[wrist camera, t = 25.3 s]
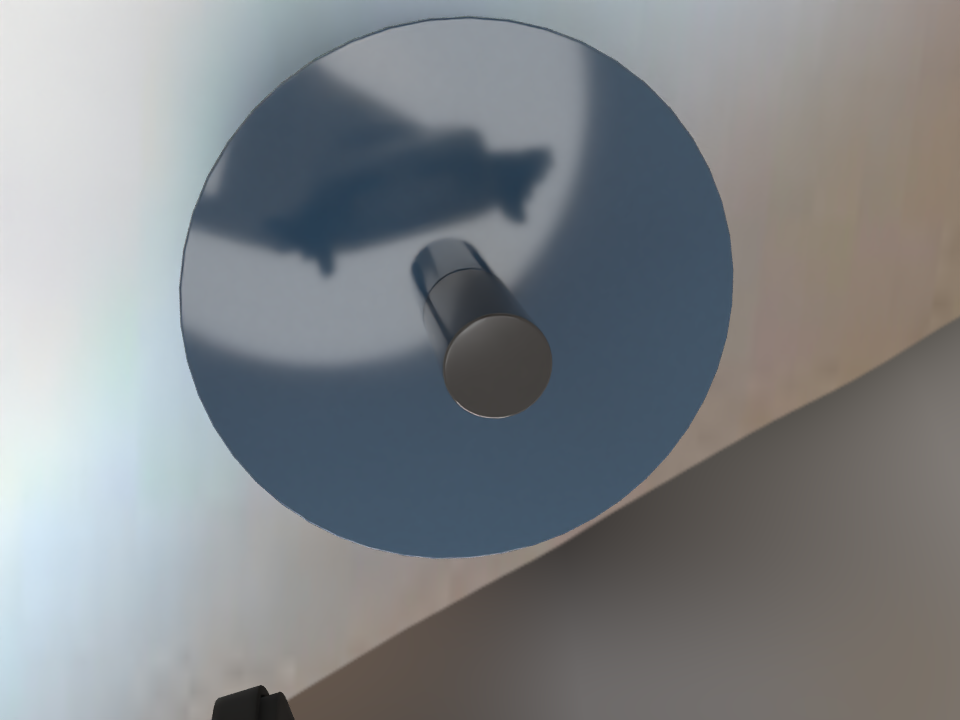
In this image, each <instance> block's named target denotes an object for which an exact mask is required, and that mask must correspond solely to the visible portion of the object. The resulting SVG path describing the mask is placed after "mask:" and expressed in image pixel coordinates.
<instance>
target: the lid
mask: <svg viewBox="0 0 960 720" xmlns="http://www.w3.org/2000/svg"><path fill="white" fill-rule="evenodd" d="M732 293H733V262H732V252H731V242H730V234H729V229H728V225H727V221H726V217H725V212H724V208H723V204H722V200H721V198H720V195H719V192H718V190H717V187H716V184H715V182H714V179H713V177H712V174H711V171H710V169H709V167H708V165H707V163H706V161H705V160H704V158H703V156H702V154H701V152H700V150H699V149H698V147H697V145H696V143H695V141H694V139H693V138H692V136H691V135H690V134H689V132H688V131H687V129H686V128H685V127H684V125H683V124H682V123H681V121H680V120H679V119H678V117H677V116H676V115H675V113H674V112H673V111H672V109H671V108H670V107H669V106H668V105H667V104H666V103H665V102H664V101H663V100H662V99H661V98H660V97H659V96H658V95H657V94H656V93H655V92H654V91H653V90H652V89H651V88H650V87H649V86H648V85H647V84H646V83H645V82H644V81H643V80H641V79H640V78H639V77H637V76H636V75H635V74H633V73H632V72H631V71H629V70H628V69H627V68H625V67H624V66H623V65H621V64H620V63H619V62H618V61H616V60H615V59H613V58H611V57H609V56H607V55H606V54H604V53H602V52H600V51H598V50H597V49H595V48H593V47H591V46H589V45H588V44H586V43H584V42H582V41H580V40H577V39H574V38H572V37H569V36H567V35H564V34H561V33H559V32H556V31H553V30H551V29H548V28H545V27H541V26H536V25H532V24H527V23H523V22H519V21H514V20H510V19H500V18H488V17H476V16H460V17H443V18H428V19H423V20H418V21H413V22H408V23H404V24H399V25H394V26H389V27H386V28H383V29H380V30H378V31H375V32H372V33H369V34H366V35H364V36H361V37H358V38H355V39H352V40H350V41H348V42H346V43H344V44H342V45H340V46H338V47H337V48H335V49H333V50H331V51H329V52H327V53H325V54H323V55H321V56H319V57H317V58H315V59H314V60H312V61H311V62H310V63H308V64H307V65H305V66H304V67H303V68H301V69H300V70H298V71H297V72H296V73H294V74H293V75H292V76H290V77H289V78H287V79H286V80H285V81H283V82H282V83H281V84H280V85H279V86H277V87H276V88H275V89H274V90H273V91H272V92H271V93H270V94H269V95H268V96H267V97H266V98H265V99H264V100H263V101H262V102H261V103H260V104H259V105H258V106H257V107H255V108H254V109H253V110H252V111H251V113H250V114H249V115H248V117H247V118H246V119H245V120H244V122H243V123H242V124H241V125H240V127H239V128H238V129H237V130H236V132H235V133H234V134H233V136H232V137H231V138H230V139H229V141H228V142H227V143H226V145H225V147H224V149H223V150H222V152H221V154H220V155H219V157H218V159H217V161H216V162H215V164H214V166H213V167H212V169H211V171H210V173H209V174H208V176H207V178H206V181H205V183H204V186H203V188H202V191H201V193H200V195H199V198H198V200H197V203H196V205H195V208H194V210H193V213H192V217H191V220H190V224H189V228H188V232H187V236H186V240H185V244H184V248H183V255H182V265H181V274H180V284H179V299H180V325H181V331H182V336H183V342H184V348H185V353H186V359H187V363H188V366H189V369H190V372H191V375H192V378H193V381H194V384H195V387H196V390H197V393H198V396H199V398H200V400H201V402H202V404H203V406H204V408H205V410H206V412H207V414H208V417H209V419H210V421H211V423H212V425H213V427H214V428H215V430H216V431H217V433H218V434H219V436H220V437H221V439H222V440H223V442H224V443H225V445H226V446H227V448H228V449H229V451H230V452H231V454H232V455H233V456H234V458H235V459H236V460H237V461H238V462H239V463H240V464H241V465H242V467H243V468H244V469H245V470H246V471H247V472H248V473H249V475H250V476H251V477H252V478H253V479H254V480H255V481H256V482H257V483H258V484H259V485H260V486H261V487H263V488H264V489H265V490H266V491H267V492H268V493H269V494H271V495H272V496H273V497H274V498H275V499H276V500H278V501H279V502H280V503H281V504H282V505H284V506H285V507H287V508H288V509H290V510H291V511H293V512H294V513H296V514H297V515H299V516H300V517H302V518H303V519H305V520H306V521H308V522H309V523H311V524H313V525H315V526H317V527H319V528H321V529H323V530H325V531H327V532H329V533H331V534H333V535H336V536H338V537H340V538H342V539H345V540H348V541H351V542H354V543H357V544H359V545H362V546H365V547H368V548H371V549H375V550H380V551H385V552H389V553H394V554H398V555H403V556H412V557H423V558H433V559H450V558H474V557H481V556H488V555H495V554H502V553H506V552H510V551H514V550H518V549H522V548H526V547H529V546H533V545H536V544H539V543H541V542H544V541H547V540H549V539H552V538H554V537H557V536H560V535H562V534H565V533H567V532H569V531H570V530H572V529H574V528H576V527H578V526H580V525H582V524H584V523H586V522H588V521H590V520H592V519H594V518H595V517H597V516H598V515H600V514H601V513H603V512H604V511H606V510H607V509H609V508H610V507H612V506H613V505H615V504H616V503H617V502H619V501H620V500H622V499H623V498H624V497H625V496H626V495H628V494H629V493H630V492H631V491H632V490H633V489H635V488H636V487H637V486H638V485H639V484H641V483H642V482H643V481H644V480H645V479H646V478H647V477H648V476H649V475H650V474H651V473H652V472H653V471H654V470H655V469H656V468H657V467H658V466H659V464H660V463H661V462H662V461H663V460H664V459H665V458H666V457H667V456H668V455H669V453H670V452H671V451H672V449H673V448H674V447H675V445H676V444H677V443H678V441H679V440H680V439H681V437H682V436H683V435H684V433H685V432H686V431H687V429H688V428H689V426H690V424H691V422H692V421H693V419H694V417H695V415H696V414H697V412H698V410H699V408H700V407H701V405H702V403H703V402H704V400H705V397H706V395H707V393H708V390H709V388H710V386H711V383H712V381H713V379H714V376H715V374H716V372H717V369H718V366H719V362H720V359H721V355H722V352H723V349H724V345H725V342H726V338H727V333H728V327H729V320H730V314H731V308H732Z"/></svg>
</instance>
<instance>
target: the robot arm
mask: <svg viewBox="0 0 960 720" xmlns="http://www.w3.org/2000/svg"><path fill="white" fill-rule="evenodd" d="M212 720H294V717H293V715H292V712H291V710H290V707H289V705H288V702H287V700H286V698H285V696H284V694H283V693H282V692H278V693H275V694H272V695H269V693H268V691H267V690H266V688H265V687H264V686H262V685H260V686H257V687H253V688H250V689H247V690H244V691H240V692H237V693H234V694H231V695H227V696H224V697H221V698H218V699H217V700H216V702H215V705H214V710H213V715H212Z"/></svg>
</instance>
